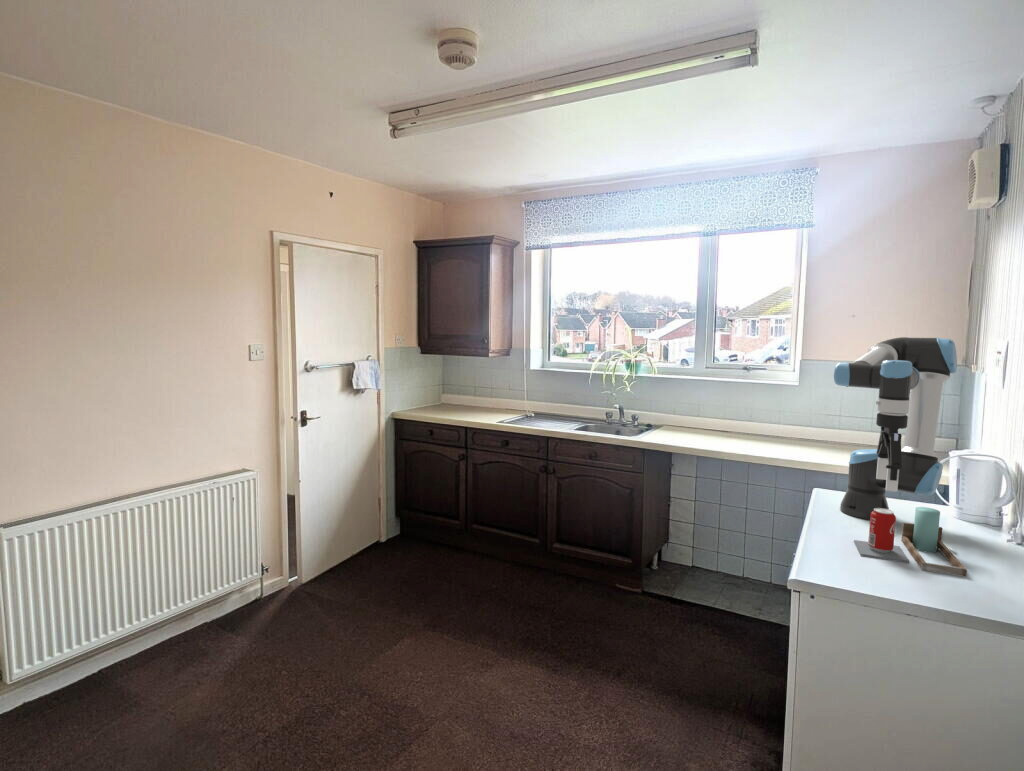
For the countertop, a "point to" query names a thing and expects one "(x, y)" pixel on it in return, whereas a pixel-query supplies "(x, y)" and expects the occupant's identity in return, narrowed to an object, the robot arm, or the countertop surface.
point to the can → (926, 529)
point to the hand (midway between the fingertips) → (886, 485)
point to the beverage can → (882, 530)
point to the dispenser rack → (958, 567)
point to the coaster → (892, 555)
